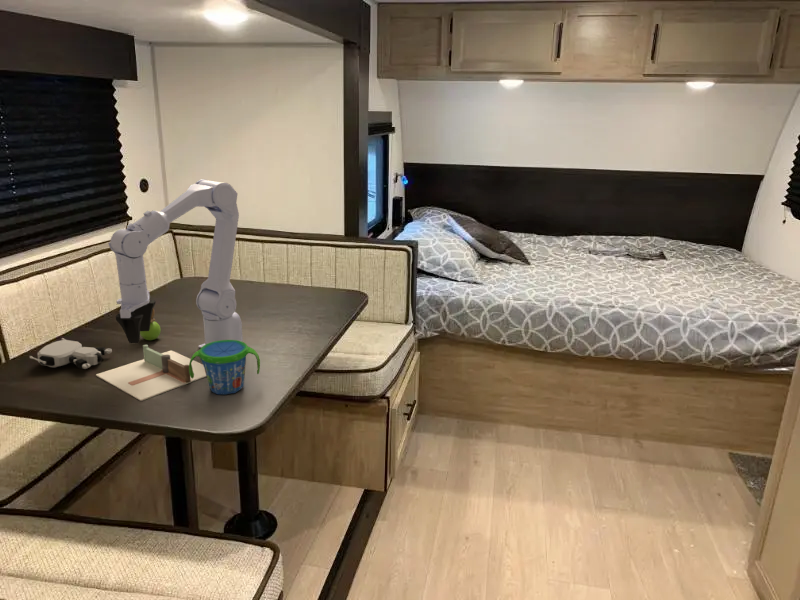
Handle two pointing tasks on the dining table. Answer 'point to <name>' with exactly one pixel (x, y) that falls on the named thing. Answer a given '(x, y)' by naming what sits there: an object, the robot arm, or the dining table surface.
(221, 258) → the robot arm
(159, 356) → the fence gate
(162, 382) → the card
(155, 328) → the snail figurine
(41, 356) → the robot toy
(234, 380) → the snack cup
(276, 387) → the dining table surface
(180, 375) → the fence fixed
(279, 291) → the dining table surface
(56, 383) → the dining table surface
